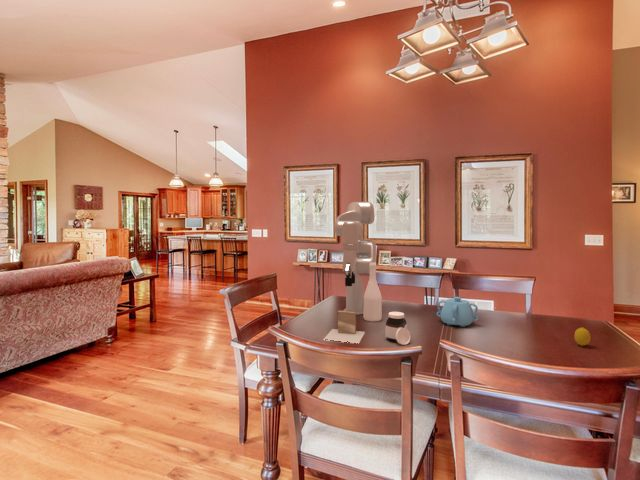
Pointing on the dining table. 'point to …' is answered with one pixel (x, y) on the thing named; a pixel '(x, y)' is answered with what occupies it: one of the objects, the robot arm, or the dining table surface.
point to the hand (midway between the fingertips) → (350, 284)
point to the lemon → (582, 336)
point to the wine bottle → (372, 298)
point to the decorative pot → (457, 312)
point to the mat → (344, 336)
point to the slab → (346, 322)
